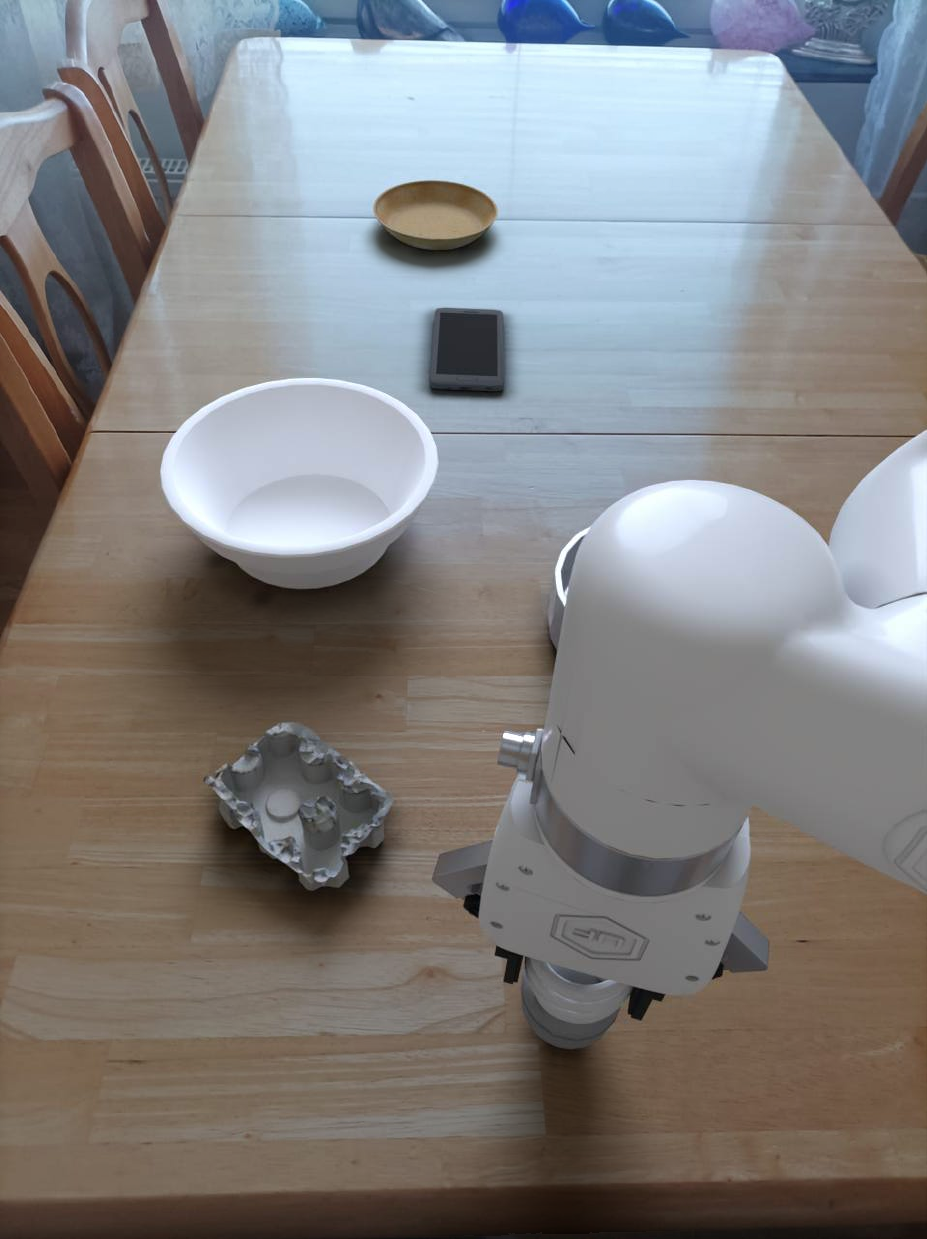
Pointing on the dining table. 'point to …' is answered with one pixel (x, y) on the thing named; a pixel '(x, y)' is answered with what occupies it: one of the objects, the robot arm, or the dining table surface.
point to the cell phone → (468, 349)
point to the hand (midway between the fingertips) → (577, 971)
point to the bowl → (300, 478)
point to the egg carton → (302, 803)
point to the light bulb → (569, 1003)
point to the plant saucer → (435, 213)
